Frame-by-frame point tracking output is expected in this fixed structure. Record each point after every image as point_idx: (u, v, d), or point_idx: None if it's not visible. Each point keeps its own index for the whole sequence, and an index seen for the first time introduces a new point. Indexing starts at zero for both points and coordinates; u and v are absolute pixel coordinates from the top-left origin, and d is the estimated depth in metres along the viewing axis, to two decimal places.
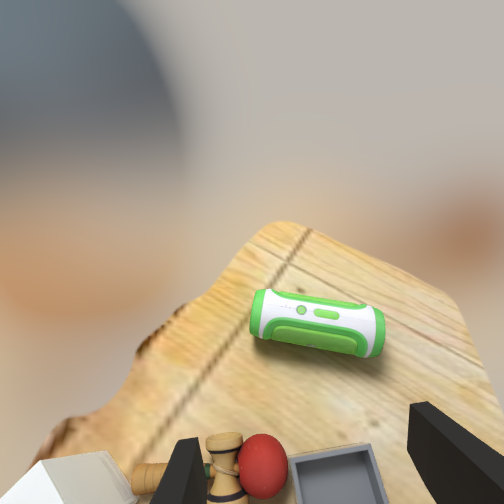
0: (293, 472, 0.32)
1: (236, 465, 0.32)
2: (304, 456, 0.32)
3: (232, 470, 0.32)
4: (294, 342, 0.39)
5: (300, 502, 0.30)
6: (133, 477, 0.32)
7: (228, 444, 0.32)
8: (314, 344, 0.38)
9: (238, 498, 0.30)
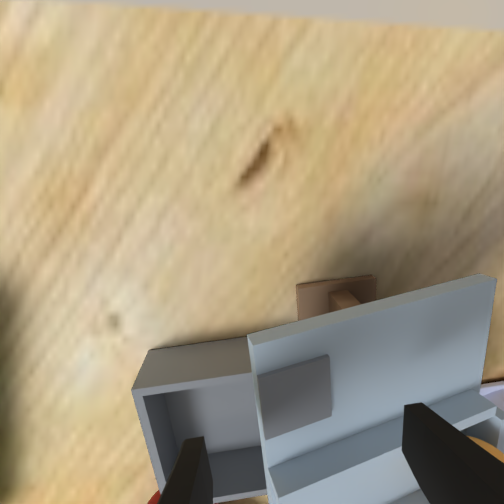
0: None
1: None
2: (161, 491, 0.18)
3: None
4: None
5: (226, 498, 0.18)
6: None
7: None
8: None
9: None
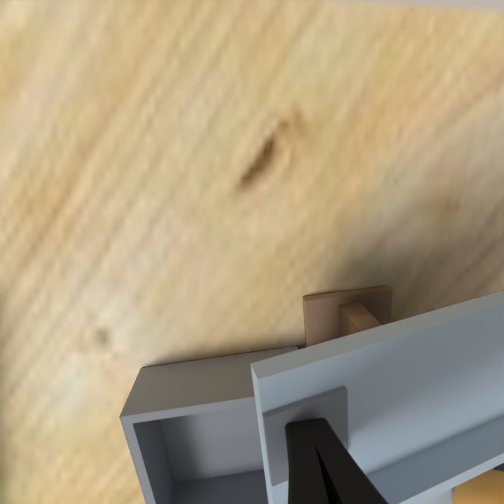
0: None
1: None
2: None
3: None
4: None
5: None
6: None
7: None
8: None
9: None
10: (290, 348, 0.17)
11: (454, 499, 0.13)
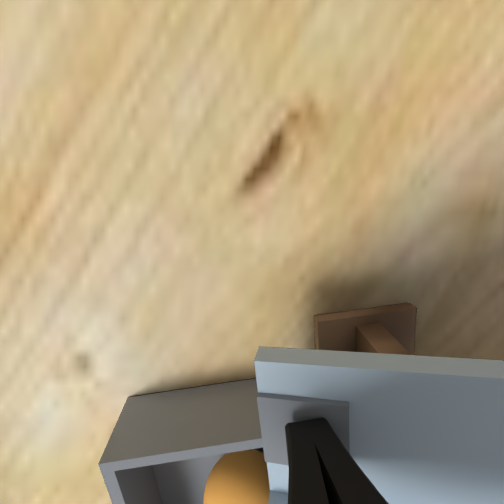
0: None
1: None
2: None
3: None
4: None
5: None
6: None
7: None
8: None
9: None
10: None
11: None
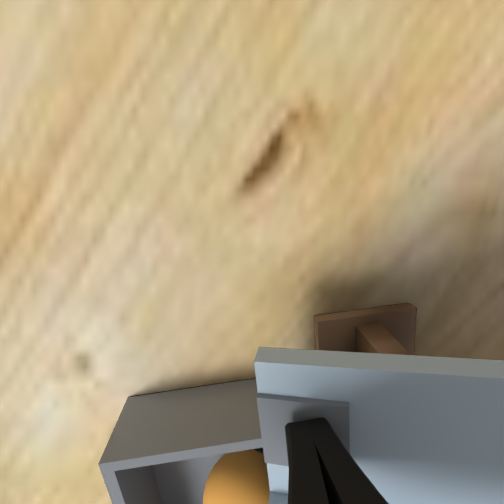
0: None
1: None
2: None
3: None
4: None
5: None
6: None
7: None
8: None
9: None
10: None
11: None
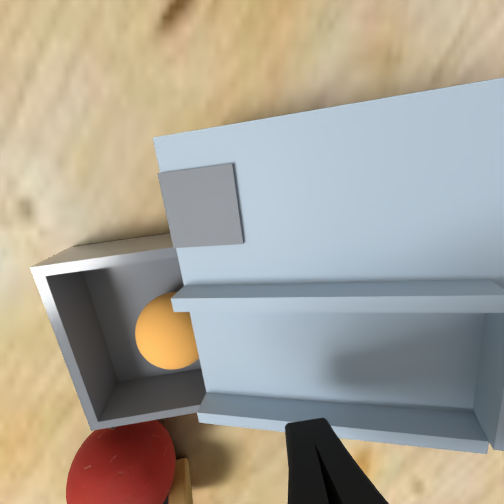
0: (115, 424, 0.15)
1: None
2: (83, 405, 0.15)
3: None
4: None
5: (162, 414, 0.15)
6: None
7: None
8: None
9: None
10: None
11: (135, 334, 0.14)
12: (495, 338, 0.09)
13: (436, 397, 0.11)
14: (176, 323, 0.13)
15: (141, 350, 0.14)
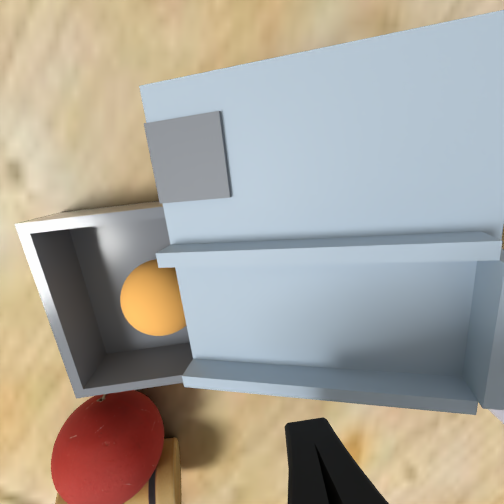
0: (100, 392, 0.15)
1: None
2: (69, 371, 0.15)
3: None
4: None
5: (148, 383, 0.15)
6: None
7: None
8: None
9: (154, 496, 0.17)
10: None
11: (120, 298, 0.14)
12: (485, 291, 0.09)
13: (425, 360, 0.11)
14: (160, 286, 0.13)
15: (125, 313, 0.14)
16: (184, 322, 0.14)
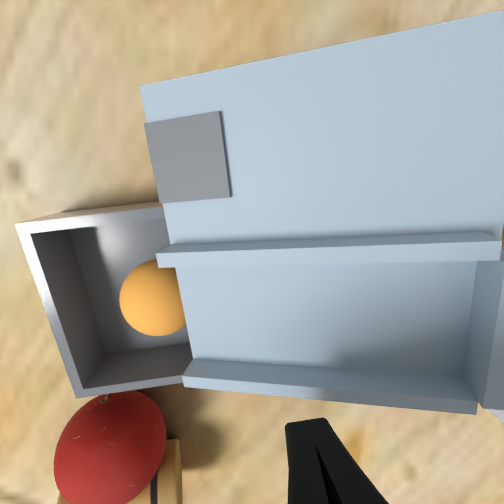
0: (100, 392, 0.15)
1: None
2: (69, 371, 0.15)
3: None
4: None
5: (148, 383, 0.15)
6: None
7: None
8: None
9: (157, 497, 0.17)
10: None
11: (119, 298, 0.14)
12: (485, 291, 0.09)
13: (425, 360, 0.11)
14: (158, 286, 0.13)
15: (123, 313, 0.14)
16: (183, 322, 0.14)
